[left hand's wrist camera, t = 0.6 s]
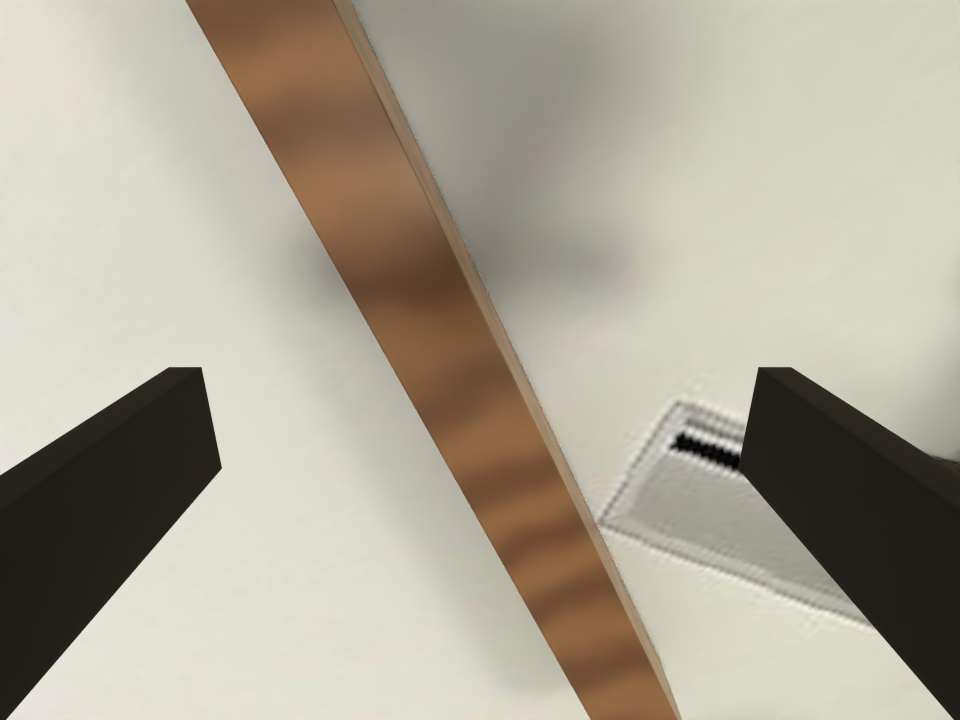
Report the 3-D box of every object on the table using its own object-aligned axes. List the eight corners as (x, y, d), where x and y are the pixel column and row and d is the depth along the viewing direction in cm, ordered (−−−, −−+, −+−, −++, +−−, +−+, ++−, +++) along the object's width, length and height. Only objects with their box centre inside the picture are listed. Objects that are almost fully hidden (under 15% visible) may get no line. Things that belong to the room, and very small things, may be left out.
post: (230, -14, 28) (138, -82, 21) (318, -68, 27) (257, -158, 20) (600, 680, 46) (624, 780, 39) (660, 661, 45) (696, 758, 38)
